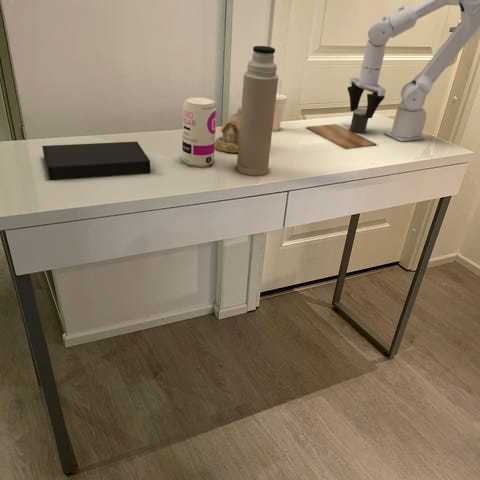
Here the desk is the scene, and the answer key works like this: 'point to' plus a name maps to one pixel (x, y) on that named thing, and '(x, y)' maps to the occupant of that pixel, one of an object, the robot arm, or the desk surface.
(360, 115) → the thermos cap
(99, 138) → the desk surface
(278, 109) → the smoothie
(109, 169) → the external hard drive
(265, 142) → the thermos bottle
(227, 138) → the ceramic model
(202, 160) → the supplement can
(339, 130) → the brown wooden board
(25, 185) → the desk surface
